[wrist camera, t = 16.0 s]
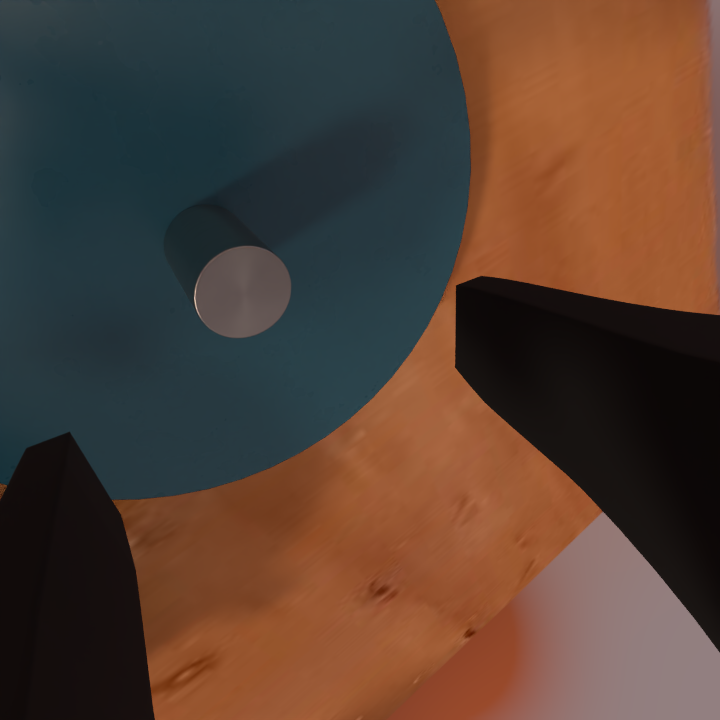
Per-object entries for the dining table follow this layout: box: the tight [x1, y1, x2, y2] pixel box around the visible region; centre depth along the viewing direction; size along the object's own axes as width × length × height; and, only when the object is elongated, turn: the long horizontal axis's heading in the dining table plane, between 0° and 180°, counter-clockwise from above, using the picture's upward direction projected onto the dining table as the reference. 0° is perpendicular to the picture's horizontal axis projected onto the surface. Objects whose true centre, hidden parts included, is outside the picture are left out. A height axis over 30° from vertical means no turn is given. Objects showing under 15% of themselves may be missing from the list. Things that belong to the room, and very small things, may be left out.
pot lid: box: [0, 0, 471, 500], centre depth 14 cm, size 19×19×5 cm
